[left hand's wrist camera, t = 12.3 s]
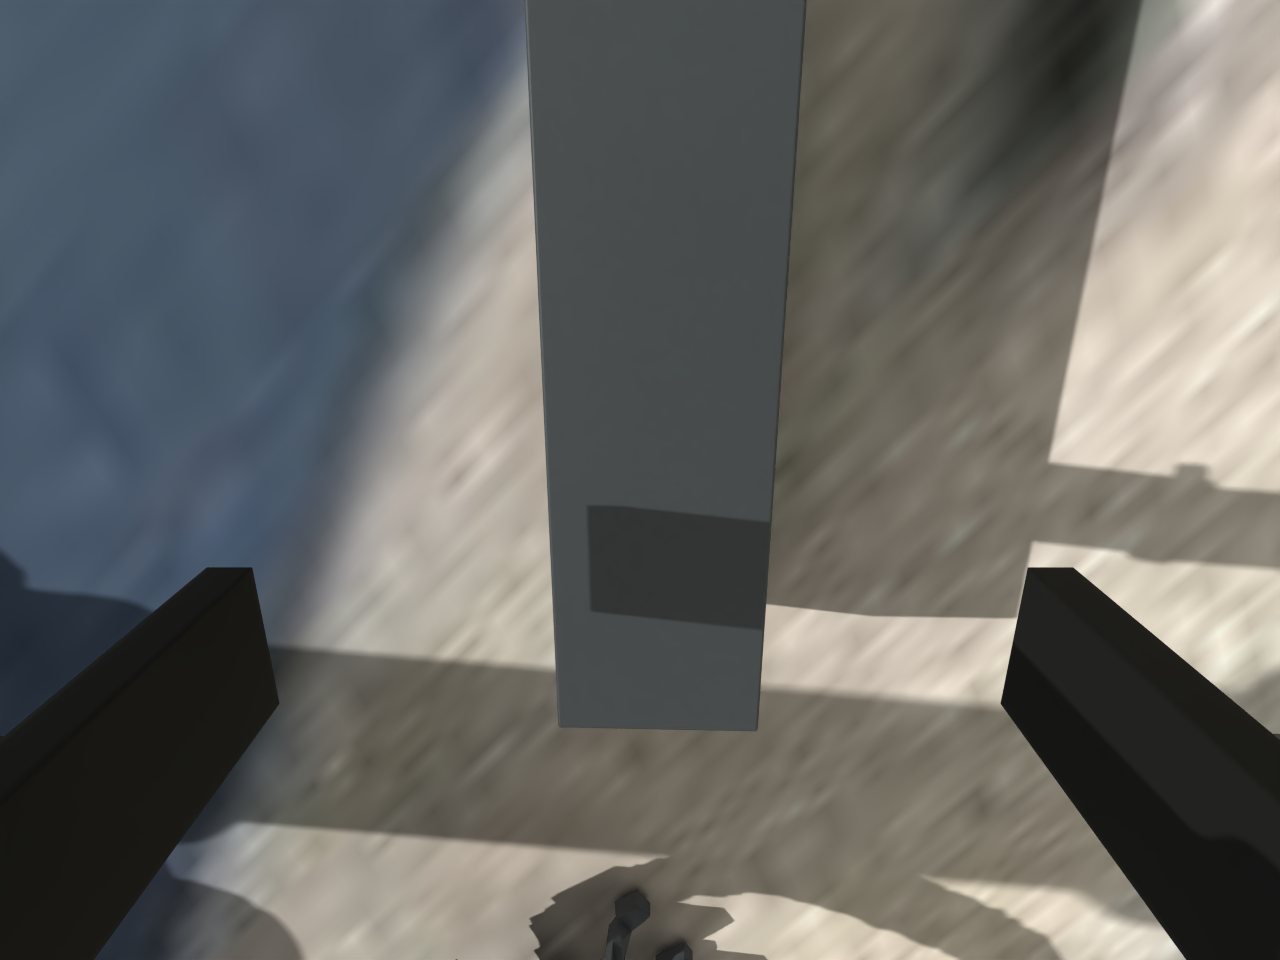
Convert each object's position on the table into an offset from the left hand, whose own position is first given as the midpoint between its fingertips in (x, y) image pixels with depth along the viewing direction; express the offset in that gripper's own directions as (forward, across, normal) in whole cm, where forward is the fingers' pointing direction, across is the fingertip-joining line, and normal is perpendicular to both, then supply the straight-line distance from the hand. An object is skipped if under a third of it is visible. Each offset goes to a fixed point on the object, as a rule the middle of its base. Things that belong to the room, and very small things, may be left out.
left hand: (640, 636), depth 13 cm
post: (+11, -1, -35) cm, 37 cm away
